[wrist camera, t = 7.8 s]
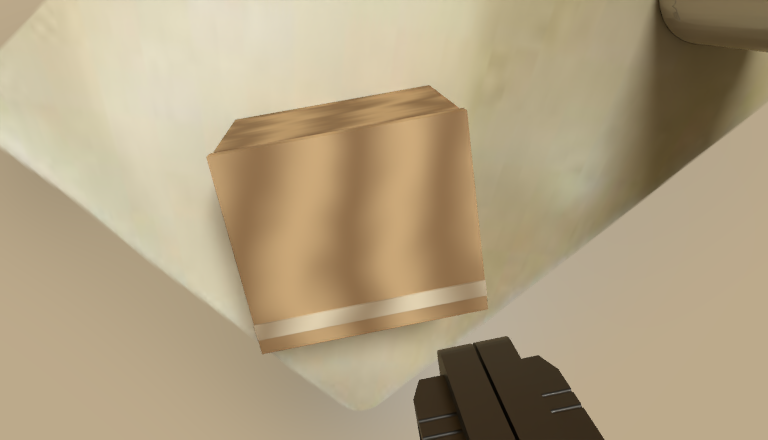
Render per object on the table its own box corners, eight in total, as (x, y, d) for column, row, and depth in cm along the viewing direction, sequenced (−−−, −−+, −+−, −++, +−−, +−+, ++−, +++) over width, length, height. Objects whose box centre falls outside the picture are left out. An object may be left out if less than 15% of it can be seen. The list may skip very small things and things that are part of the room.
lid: (462, 108, 34) (467, 110, 33) (484, 302, 39) (488, 310, 38) (209, 153, 34) (205, 157, 33) (263, 346, 39) (261, 355, 37)
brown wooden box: (429, 85, 44) (459, 107, 35) (447, 237, 49) (477, 292, 40) (235, 119, 43) (213, 152, 34) (275, 270, 48) (266, 333, 39)
